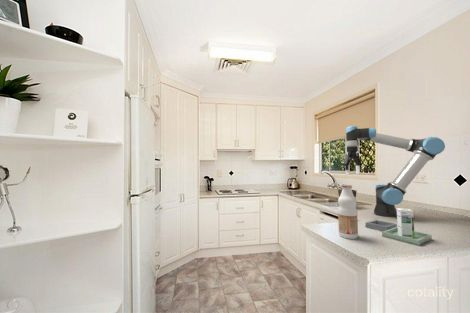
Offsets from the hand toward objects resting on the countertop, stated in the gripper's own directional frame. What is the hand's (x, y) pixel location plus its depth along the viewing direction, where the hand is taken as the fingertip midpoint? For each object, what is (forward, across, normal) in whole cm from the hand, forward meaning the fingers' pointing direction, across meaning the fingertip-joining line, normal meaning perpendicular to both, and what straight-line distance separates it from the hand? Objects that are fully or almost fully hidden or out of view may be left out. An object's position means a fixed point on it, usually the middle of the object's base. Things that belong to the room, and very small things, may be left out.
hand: (353, 174), depth 164 cm
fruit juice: (+32, +47, +24) cm, 62 cm away
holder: (+32, +16, +26) cm, 44 cm away
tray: (+32, +24, +42) cm, 58 cm away
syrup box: (+31, +24, +42) cm, 57 cm away
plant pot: (+32, -24, -20) cm, 45 cm away
